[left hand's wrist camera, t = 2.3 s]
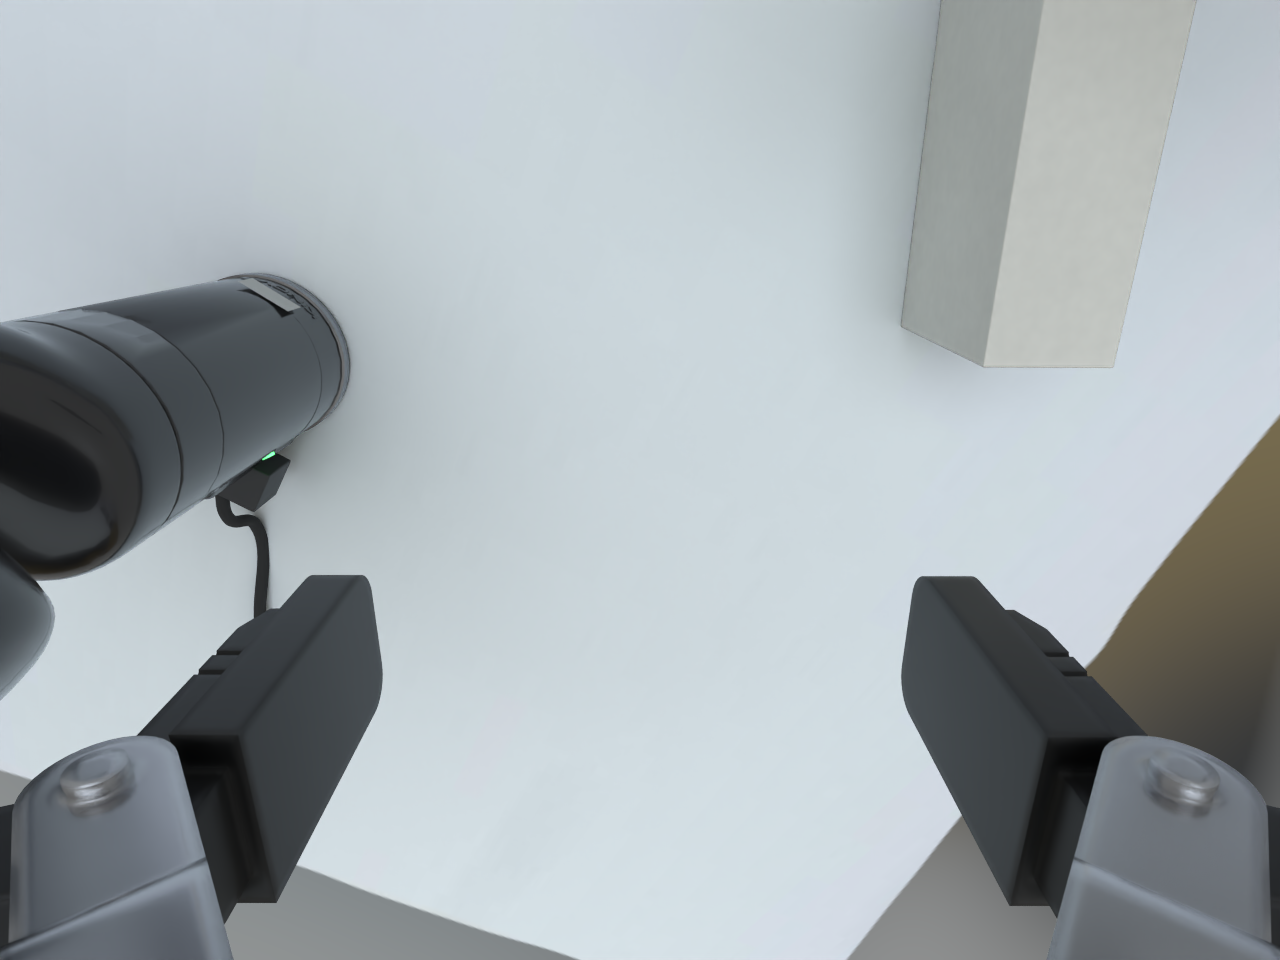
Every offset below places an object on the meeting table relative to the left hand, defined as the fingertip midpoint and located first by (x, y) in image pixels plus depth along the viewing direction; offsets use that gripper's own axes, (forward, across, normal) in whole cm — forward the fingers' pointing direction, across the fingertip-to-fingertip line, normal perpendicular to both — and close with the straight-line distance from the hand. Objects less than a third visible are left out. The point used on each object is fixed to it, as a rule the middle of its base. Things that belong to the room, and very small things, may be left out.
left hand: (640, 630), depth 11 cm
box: (+34, -18, -11) cm, 40 cm away
